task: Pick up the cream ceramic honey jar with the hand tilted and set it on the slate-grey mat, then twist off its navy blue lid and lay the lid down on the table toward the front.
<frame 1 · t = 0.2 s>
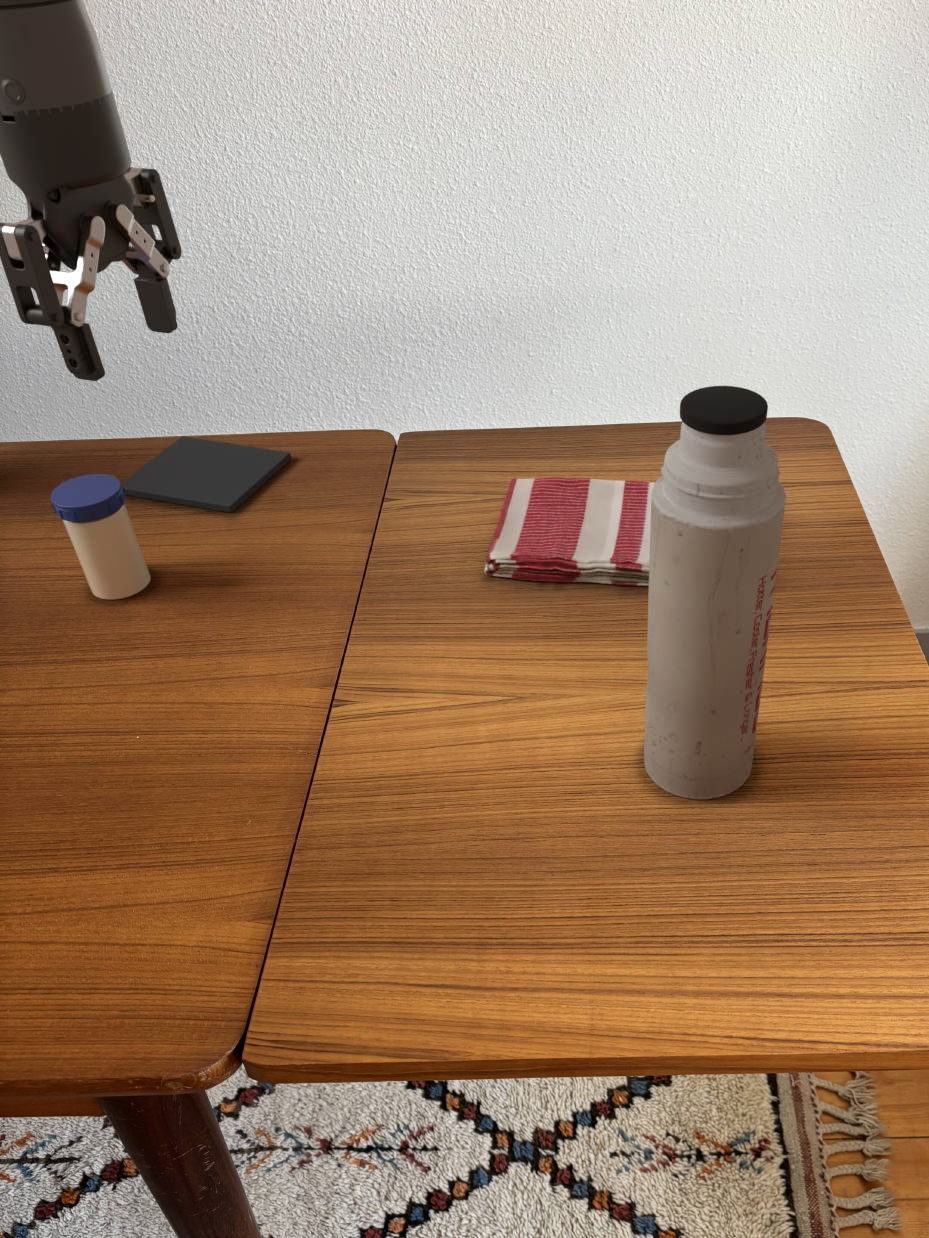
hand: (128, 353, 75), 25 cm above the table, tool pointing down, fingers open, 8 cm apart
dish towel: (618, 538, 101), on the table
jar: (121, 583, 98), on the table
thermos bottle: (697, 763, 78), on the table
lid: (87, 494, 91), point 9 cm above the table, screwed on, not yet turned
mat: (206, 476, 112), on the table
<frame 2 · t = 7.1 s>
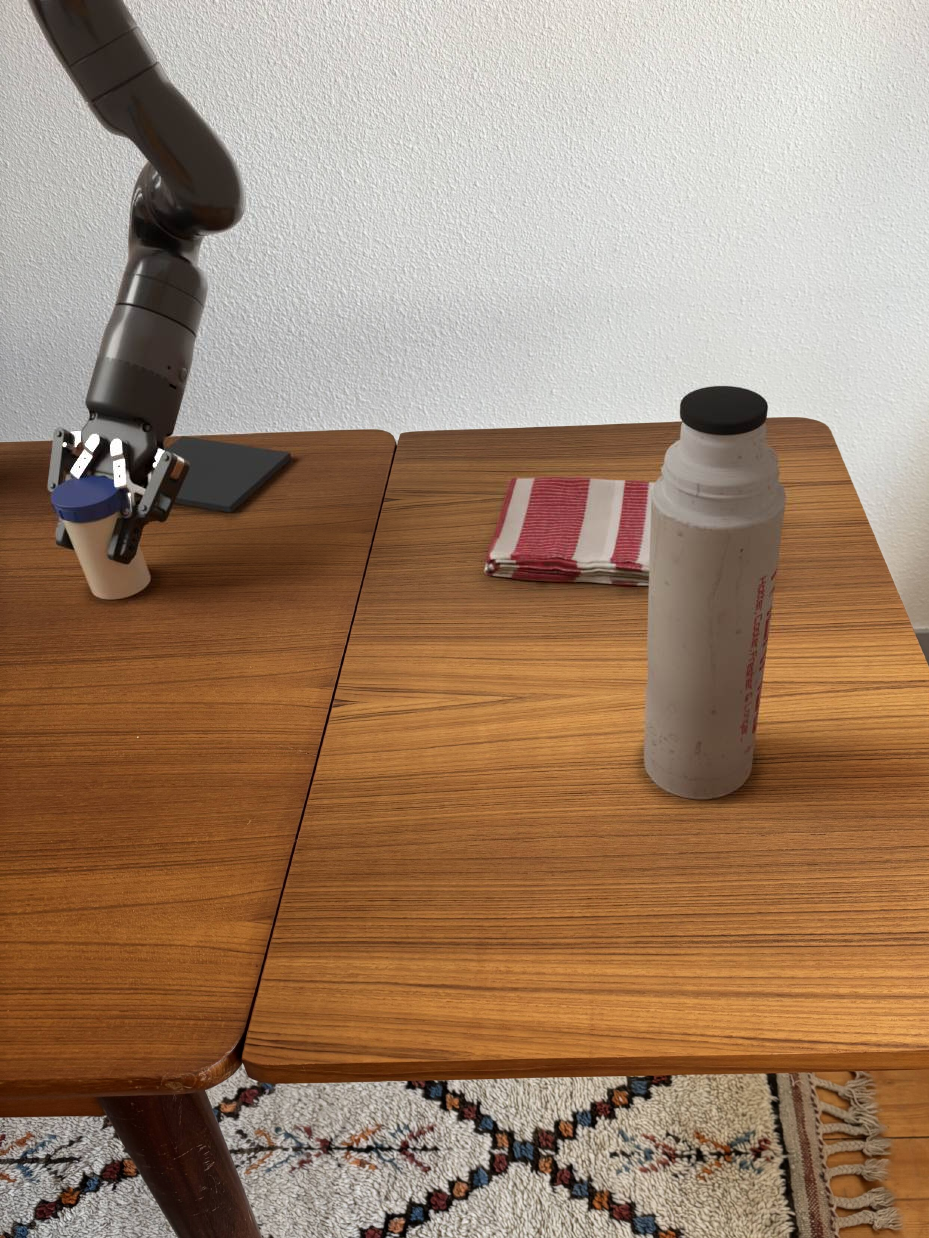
hand: (92, 554, 94), 4 cm above the table, tool tilted 45°, fingers closed on jar, 5 cm apart
jar: (121, 583, 98), on the table, touching gripper
everything else where it was.
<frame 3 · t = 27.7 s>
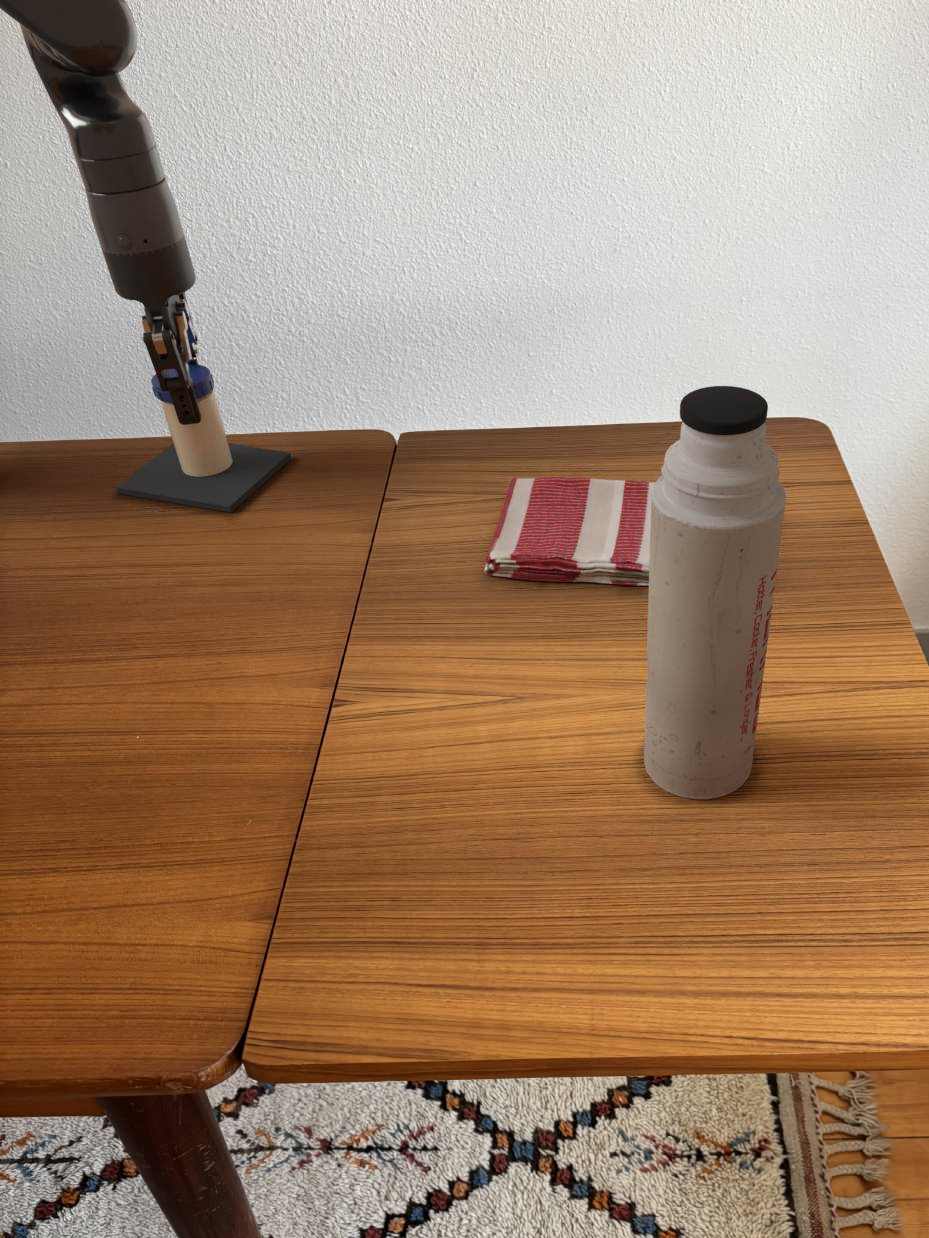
hand: (193, 408, 108), 7 cm above the table, tool pointing down, fingers closed on lid, 5 cm apart
jar: (207, 464, 113), point 1 cm above the table, touching gripper, mat
lid: (181, 380, 106), point 10 cm above the table, off its thread, touching gripper
everything else where it was.
when the fingers open (0 cm above the table, at t = 39.1 s): lid drops 2 cm, point 1 cm above the table.
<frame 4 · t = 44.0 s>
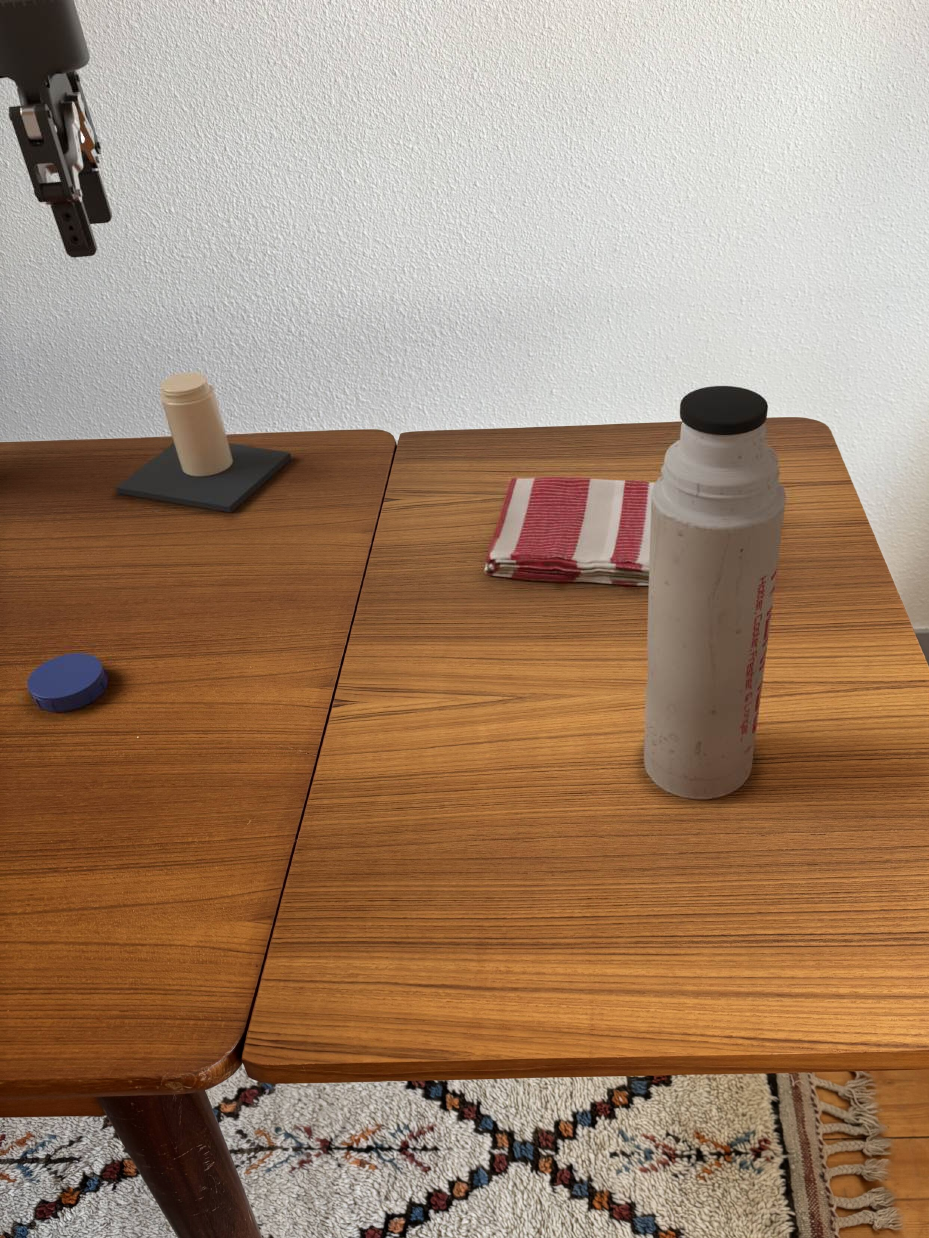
hand: (91, 238, 83), 28 cm above the table, tool pointing down, fingers open, 8 cm apart
jar: (207, 464, 113), point 1 cm above the table, touching mat
lid: (66, 678, 86), point 1 cm above the table, off its thread
everything else where it was.
at the end: jar inside the target area on the mat (1.0 cm from its centre), point 0.8 cm above the mat's base; lid came off its thread; lid inside the target area (0.4 cm from its centre), point 1.1 cm above the table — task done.
